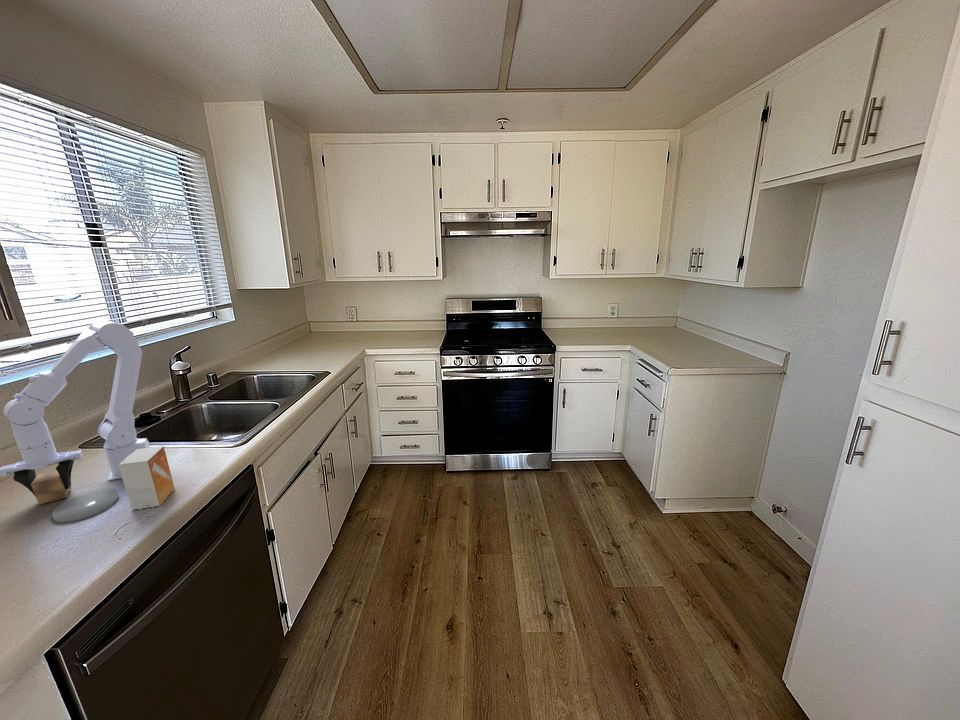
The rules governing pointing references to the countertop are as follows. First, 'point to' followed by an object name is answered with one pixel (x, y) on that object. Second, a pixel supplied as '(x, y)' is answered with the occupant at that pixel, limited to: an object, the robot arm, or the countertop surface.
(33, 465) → the robot arm
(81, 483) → the countertop surface
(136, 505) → the small box
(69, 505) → the slate dish
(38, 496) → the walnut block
